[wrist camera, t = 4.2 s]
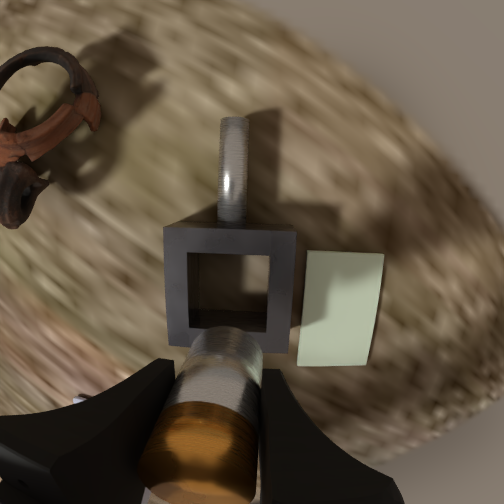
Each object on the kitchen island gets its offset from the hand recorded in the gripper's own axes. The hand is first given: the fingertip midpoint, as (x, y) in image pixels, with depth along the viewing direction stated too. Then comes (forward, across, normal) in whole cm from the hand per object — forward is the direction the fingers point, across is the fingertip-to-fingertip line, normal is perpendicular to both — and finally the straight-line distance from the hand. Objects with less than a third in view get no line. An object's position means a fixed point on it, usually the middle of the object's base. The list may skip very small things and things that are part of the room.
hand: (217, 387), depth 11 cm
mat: (+10, -6, +1) cm, 12 cm away
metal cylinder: (+2, 0, 0) cm, 3 cm away
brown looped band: (+10, +15, -11) cm, 21 cm away
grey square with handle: (+10, +1, -4) cm, 10 cm away
